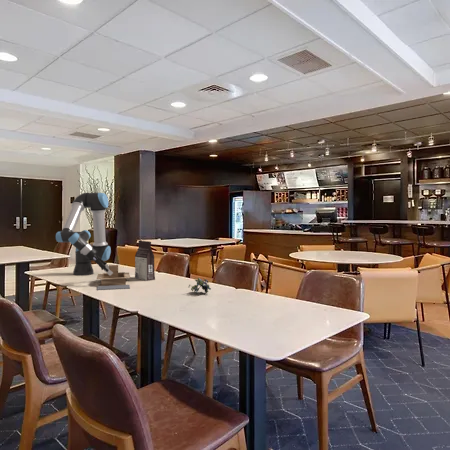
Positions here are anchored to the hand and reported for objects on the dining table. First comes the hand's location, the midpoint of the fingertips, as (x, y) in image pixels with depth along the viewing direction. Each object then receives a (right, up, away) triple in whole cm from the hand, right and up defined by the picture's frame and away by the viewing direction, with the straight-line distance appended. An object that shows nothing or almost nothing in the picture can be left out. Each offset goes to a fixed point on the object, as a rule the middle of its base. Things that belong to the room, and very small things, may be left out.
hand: (111, 273), depth 257 cm
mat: (+6, -7, -17) cm, 19 cm away
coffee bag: (+19, -7, +17) cm, 27 cm away
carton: (+1, -7, +1) cm, 7 cm away
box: (+1, -7, +1) cm, 7 cm away
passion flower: (+63, -8, -33) cm, 72 cm away
